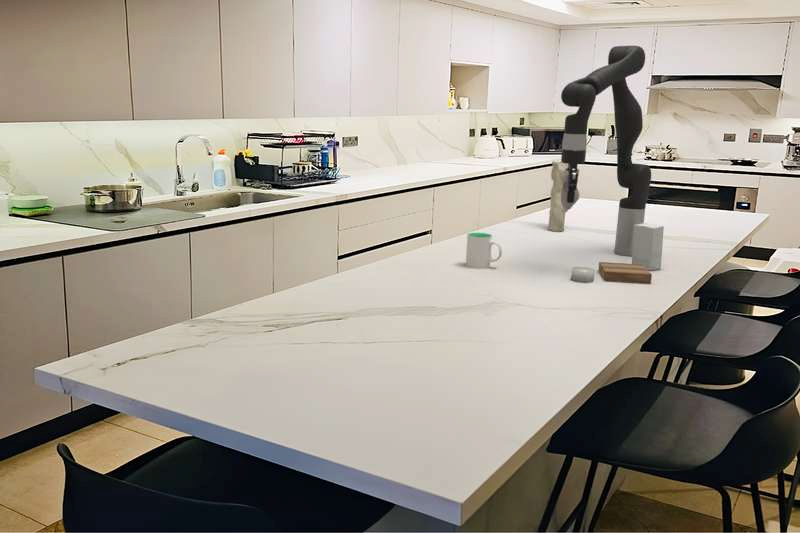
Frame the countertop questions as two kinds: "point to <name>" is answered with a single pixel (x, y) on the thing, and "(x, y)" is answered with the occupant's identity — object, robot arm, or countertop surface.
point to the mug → (480, 250)
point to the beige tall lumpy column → (557, 197)
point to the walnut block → (624, 272)
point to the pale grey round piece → (582, 274)
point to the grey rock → (564, 196)
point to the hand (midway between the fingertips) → (569, 201)
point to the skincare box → (648, 245)
